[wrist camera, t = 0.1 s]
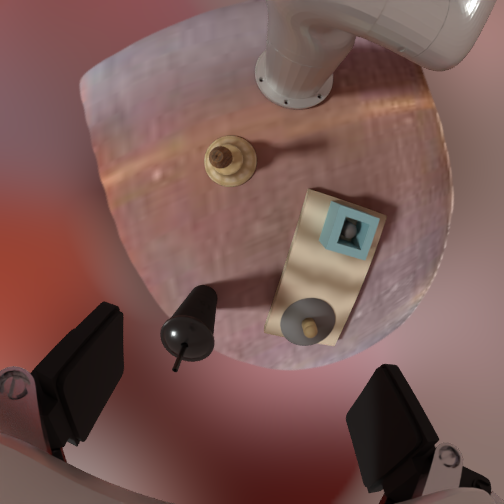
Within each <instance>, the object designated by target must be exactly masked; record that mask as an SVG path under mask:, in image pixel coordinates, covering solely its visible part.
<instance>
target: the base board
mask: <svg viewBox="0 0 504 504" xmlns="http://www.w3.org/2000/svg"><path fill="white" fill-rule="evenodd" d="M331 201H333V202H336V203H339V204H342V205H345V206H348V207H351V208H354V209H357V210H360V211H363V212H365V213H368V214H370V215H373V216H375V217H377V218H379V219H380V220H379V223H378V226H377V229H376V232H375V235H374V238H373V241H372V244H371V247H370V249H369V252H368V255H367V258H366V260H361V259H358V258H355V257H351V256H348V255H344V254H341V253H337V252H334V251H330V250H327V249H325V248H324V246H323V245H322V244H321V243H320V241H319V238H320V235H321V232H322V229H323V226H324V222H325V219H326V216H327V213H328V210H329V206H330V203H331ZM386 218H387V216H386V215H383V214H381V213H378V212H376V211H373V210H370V209H367V208H364V207H362V206H359V205H356V204H353V203H350V202H347V201H344V200H341V199H338V198H335V197H332V196H329V195H326V194H323V193H320V192H317V191H314V190H311V189H308V190H307V194H306V197H305V201H304V204H303V207H302V211H301V214H300V217H299V221H298V224H297V227H296V231H295V234H294V237H293V240H292V243H291V247H290V250H289V253H288V256H287V259H286V262H285V266H284V269H283V272H282V275H281V278H280V281H279V284H278V287H277V290H276V293H275V296H274V299H273V302H272V305H271V308H270V311H269V314H268V317H267V320H266V323H265V326H264V333H267V334H272V335H276V336H281V337H285V338H286V339H287V340H288V341H290V342H291V343H293V344H296V345H302V346H307V345H313V344H316V343H317V344H323V345H329V346H335V344H336V342H337V340H338V338H339V336H340V334H341V331H342V329H343V327H344V325H345V323H346V321H347V319H348V316H349V314H350V312H351V310H352V307H353V305H354V303H355V301H356V298H357V296H358V294H359V291H360V289H361V286H362V284H363V281H364V279H365V276H366V274H367V271H368V269H369V266H370V264H371V261H372V258H373V256H374V253H375V250H376V247H377V245H378V242H379V239H380V236H381V233H382V230H383V227H384V224H385V221H386ZM357 221H358V220H355V219H352V218H349V217H345V220H344V224H343V227H342V230H341V233H340V236H339V238H340V239H344V240H347V241H350V242H351V239H352V238H353V237H354V236H355V235H356V233H357V228H356V224H357Z"/></svg>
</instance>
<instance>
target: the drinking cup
mask: <svg viewBox="0 0 504 504" xmlns="http://www.w3.org/2000/svg"><path fill="white" fill-rule="evenodd" d="M216 304H217V295H216V293H215V291H214V290H213V289H212V288H210V287H209V286H205V285H200V286H197V287H195V288H194V289H193V290H192V291H191V293H190V294H189V295H188V296H187V298H186V299H185V300H184V302H183V303H182V304H181V305H180V307H179V308H178V309H177V310H176V312H175V313H174V314H173V316H172V317H171V318H170V319H168V320H167V321H166V322H165V323H164V325H163V326H162V328H161V333H160V334H161V341H162V343H163V345H164V347H165V348H166V350H167V351H168V352H169V353H171V354H172V355H173V356H175V357H177V359H176V361H175V364H174V366H173V369H172V370H173V371H174V372H177V371H178V369H179V366H180V363H181V361H182V360H185V361H191V362H194V361H200V360H203V359H205V358H206V357H208V356H209V355H210V354H211V352H212V351H213V348H214V336H213V333H214V323H215V313H216Z"/></svg>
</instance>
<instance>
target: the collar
mask: <svg viewBox="0 0 504 504" xmlns="http://www.w3.org/2000/svg"><path fill="white" fill-rule="evenodd" d="M345 217H349V218H352V219H355V220H358V221H357V224H356V228H357V233H356V235H355V236H354V237H353V238H352V239H351V242H350V241H347V240H344V239H340V238H339V236H340V233H341V230H342V227H343V224H344V220H345ZM379 220H380V219H379V218H377V217H375V216H373V215H370V214H368V213H365V212H363V211H360V210H357V209H354V208H351V207H348V206H345V205H342V204H339V203H336V202H333V201H331V203H330V206H329V210H328V213H327V216H326V219H325V222H324V226H323V229H322V232H321V235H320V238H319V241H320V243H321V244H322V245H323V246H324V248H325V249H327V250H330V251H334V252H337V253H341V254H344V255H348V256H351V257H355V258H358V259H361V260H366V258H367V255H368V252H369V249H370V247H371V244H372V241H373V238H374V235H375V232H376V229H377V226H378V223H379Z"/></svg>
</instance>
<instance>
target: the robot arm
mask: <svg viewBox="0 0 504 504" xmlns="http://www.w3.org/2000/svg"><path fill="white" fill-rule="evenodd" d="M266 3H267V9H268V25H267V42H266V50H265V51H264V52H263V53H262V54H261V56H260V57H259V58H258V61H257V63H256V67H255V78H256V82H257V85H258V87H259V89H260V91H261V92H262V93H263V95H264V96H265V97H266V98H267V99H269V100H270V101H271V102H273V103H275V104H277V105H279V106H281V107H284V108H288V109H307V108H310V107H313V106H316V105H317V104H319V103H320V102H322V101H323V100H324V99H325V98H326V97H327V95H328V94H329V92H330V90H331V89H332V85H333V72H334V71H335V70H336V68H337V67H338V66H339V65H340V64H341V62H342V61H343V60H344V59H345V57H346V56H347V55H348V54H349V52H350V51H351V49H352V48H353V46H354V43H355V39H356V36H357V37H361V38H364V39H366V40H369V41H371V42H373V43H375V44H378V45H380V46H382V47H384V48H386V49H388V50H390V51H392V52H394V53H396V54H398V55H400V56H402V57H404V58H406V59H408V60H410V61H412V62H414V63H416V64H418V65H420V66H422V67H424V68H426V69H429V70H433V71H445V70H449V69H451V68H453V67H455V66H456V65H458V64H459V63H460V62H461V61H462V60H463V59H464V58H465V57H466V55H467V54H468V53H469V52H470V50H471V49H472V47H473V45H474V44H475V42H476V40H477V38H478V37H479V35H480V33H481V31H482V29H483V27H484V25H485V23H486V21H487V19H488V17H489V15H490V13H491V11H492V9H493V7H494V5H495V3H496V0H266ZM260 80H262V81H263V82H260ZM318 96H319V97H320V99H319V98H318ZM285 102H287V103H288V104H285ZM119 310H120V309H119V307H118V306H116V305H113V304H110V303H107V302H102V303H101V304H100V305H99V306H98V307H97V308H96V309H95V310H93V311H92V313H90V314H89V315H88V316H87V317H86V318H85V319H84V320H83V321H82V322H81V323H80V324H79V325H78V326H77V327H76V328H75V329H73V330H71V331H70V332H69V333H68V334H67V335H66V336H65V337H64V338H63V339H62V340H61V341H60V342H59V343H58V344H57V345H56V346H55V347H54V348H53V349H52V350H51V351H50V352H49V353H48V355H47V356H46V357H45V358H44V359H43V360H42V361H41V362H40V363H39V364H38V365H37V366H36V367H35V368H34V370H33V371H32V372H31V373H29V372H28V371H27V370H25V369H23V368H20V367H14V366H13V367H7V368H5V369H3V370H1V371H0V504H173V503H169V502H166V501H162V500H158V499H155V498H151V497H148V496H145V495H142V494H139V493H136V492H133V491H130V490H128V489H125V488H122V487H120V486H117V485H114V484H111V483H109V482H107V481H104V480H102V479H100V478H97V477H95V476H93V475H91V474H88V473H86V472H84V471H82V470H80V469H78V468H76V467H74V466H72V465H70V464H68V463H67V461H66V458H65V455H64V452H63V448H62V447H64V446H65V444H66V442H69V443H71V444H73V445H75V446H78V444H79V442H80V441H82V442H84V441H85V440H86V439H87V437H88V435H89V433H90V431H91V430H92V428H93V426H94V424H95V422H96V421H97V419H98V417H99V415H100V413H101V411H102V410H103V408H104V406H105V405H106V403H107V401H108V399H109V397H110V396H111V394H112V392H113V391H114V389H115V387H116V385H117V384H118V382H119V380H120V378H121V377H122V374H123V371H124V357H123V313H122V312H120V311H119ZM346 422H347V425H348V429H349V432H350V435H351V439H352V443H353V446H354V450H355V454H356V457H357V460H358V464H359V468H360V472H361V476H362V479H363V483H364V485H365V487H367V489H368V492H369V493H372V492H378V491H381V490H382V489H384V492H385V493H384V494H383V496H382V498H381V500H380V502H379V504H504V500H503V499H501V498H500V497H499V496H498V495H496V493H494V492H493V491H492V492H491V484H490V481H489V480H488V479H487V478H486V477H484V476H482V475H480V474H478V473H476V472H474V471H472V470H470V469H468V468H466V467H464V466H463V456H462V454H461V452H460V450H459V449H458V448H457V447H456V446H454V445H452V444H450V443H442V444H439V445H438V446H437V447H436V448H435V446H434V445H435V444H436V443H437V442H438V441H439V438H438V436H437V434H436V432H435V430H434V428H433V426H432V425H431V423H430V421H429V419H428V417H427V416H426V414H425V412H424V410H423V408H422V407H421V405H420V403H419V401H418V400H417V398H416V396H415V394H414V393H413V391H412V389H411V387H410V386H409V384H408V382H407V381H406V379H405V377H404V376H403V374H402V372H401V371H400V369H399V367H398V366H397V365H391V364H383V365H381V366H380V367H378V368H377V369H376V370H375V372H374V374H373V375H372V377H371V378H370V380H369V382H368V383H367V385H366V386H365V388H364V389H363V391H362V393H361V394H360V395H359V397H358V398H357V400H356V401H355V403H354V404H353V406H352V407H351V408H350V410H349V411H348V413H347V415H346Z"/></svg>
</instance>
